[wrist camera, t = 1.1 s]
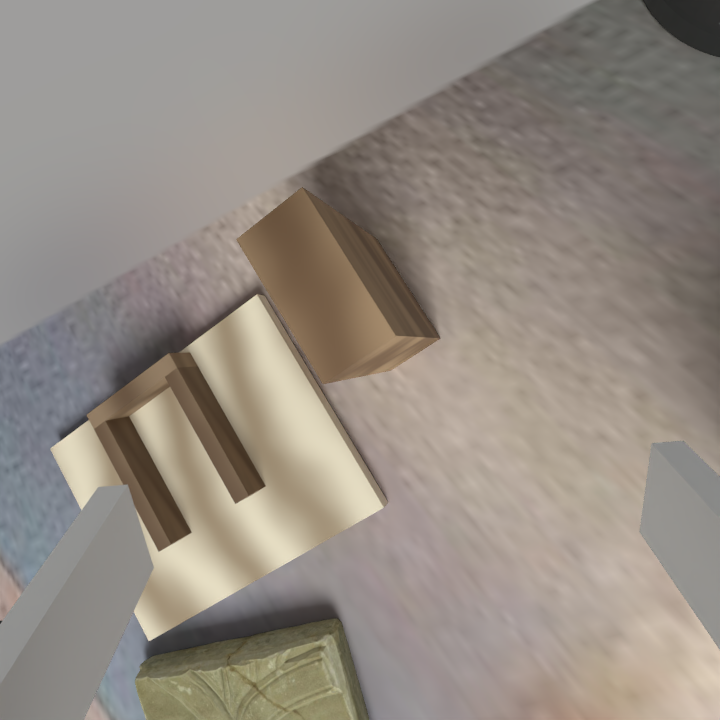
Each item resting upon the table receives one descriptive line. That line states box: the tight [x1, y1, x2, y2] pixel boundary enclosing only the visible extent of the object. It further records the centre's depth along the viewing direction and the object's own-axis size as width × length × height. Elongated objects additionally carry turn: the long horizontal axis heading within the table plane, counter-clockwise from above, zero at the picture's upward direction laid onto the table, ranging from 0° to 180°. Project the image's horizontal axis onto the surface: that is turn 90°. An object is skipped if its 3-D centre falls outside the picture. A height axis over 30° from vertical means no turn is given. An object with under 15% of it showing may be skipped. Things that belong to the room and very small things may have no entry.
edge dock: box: [51, 294, 388, 641], centre depth 40 cm, size 22×17×4 cm
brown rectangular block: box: [236, 187, 440, 384], centre depth 31 cm, size 4×8×13 cm, turn 32°
